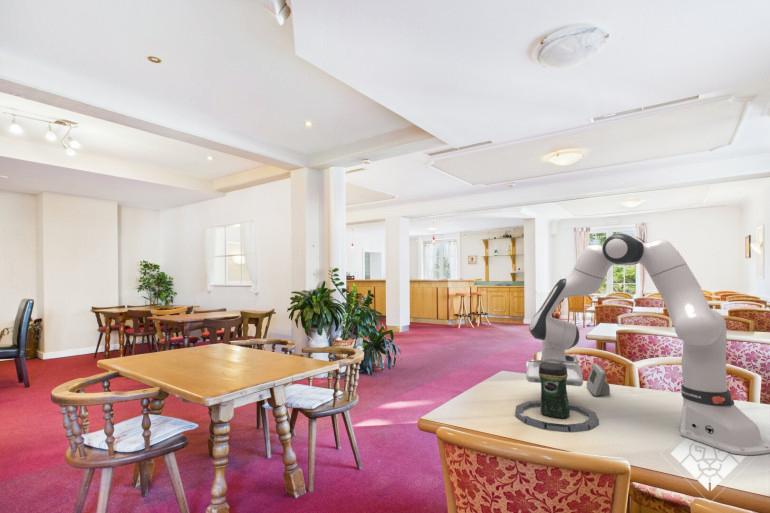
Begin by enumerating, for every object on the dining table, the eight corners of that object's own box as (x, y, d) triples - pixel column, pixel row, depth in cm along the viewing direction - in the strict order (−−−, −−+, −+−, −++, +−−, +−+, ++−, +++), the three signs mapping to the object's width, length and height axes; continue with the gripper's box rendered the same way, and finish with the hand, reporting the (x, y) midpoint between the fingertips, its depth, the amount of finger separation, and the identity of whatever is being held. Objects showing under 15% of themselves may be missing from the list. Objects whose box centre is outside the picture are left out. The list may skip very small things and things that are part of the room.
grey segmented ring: (616, 427, 132) (616, 422, 132) (541, 435, 127) (541, 429, 127) (566, 402, 158) (566, 397, 158) (502, 407, 154) (502, 403, 154)
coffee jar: (572, 413, 145) (569, 362, 146) (566, 420, 139) (563, 367, 140) (544, 408, 151) (542, 359, 152) (538, 415, 145) (535, 363, 146)
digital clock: (586, 386, 180) (585, 362, 180) (609, 388, 175) (608, 364, 176) (585, 396, 165) (583, 370, 166) (610, 399, 161) (608, 372, 162)
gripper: (525, 355, 161) (524, 386, 152) (581, 358, 153) (584, 391, 143) (526, 363, 165) (525, 394, 156) (581, 367, 157) (583, 400, 147)
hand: (554, 393), depth 149 cm, fingers closed
